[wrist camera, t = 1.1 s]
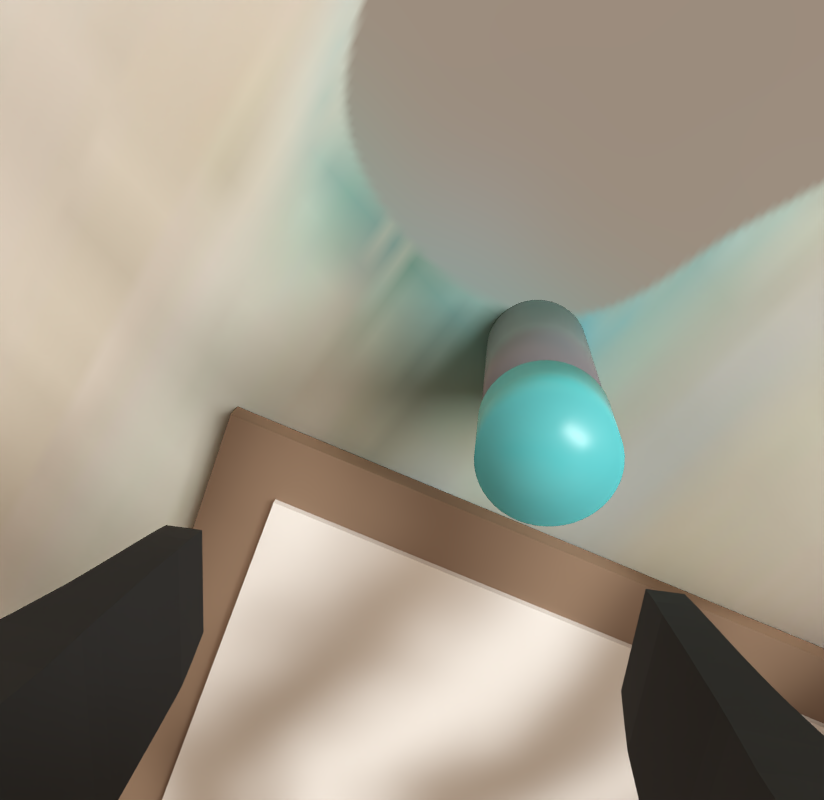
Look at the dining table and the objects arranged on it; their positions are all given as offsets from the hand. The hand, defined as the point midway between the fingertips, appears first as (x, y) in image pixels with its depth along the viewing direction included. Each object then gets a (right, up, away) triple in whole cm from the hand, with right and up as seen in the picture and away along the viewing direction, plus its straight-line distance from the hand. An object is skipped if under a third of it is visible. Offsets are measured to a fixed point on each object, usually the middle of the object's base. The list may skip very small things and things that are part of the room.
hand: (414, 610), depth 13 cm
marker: (+3, +5, +8) cm, 10 cm away
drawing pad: (+3, -9, +13) cm, 16 cm away
